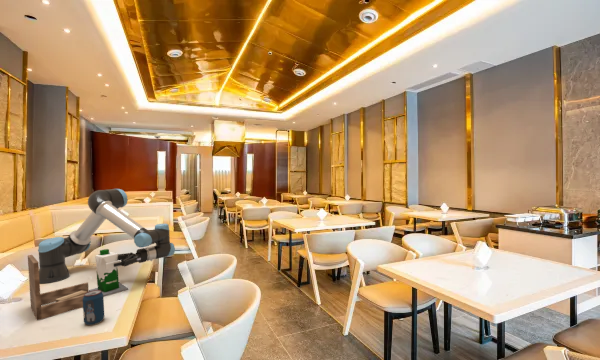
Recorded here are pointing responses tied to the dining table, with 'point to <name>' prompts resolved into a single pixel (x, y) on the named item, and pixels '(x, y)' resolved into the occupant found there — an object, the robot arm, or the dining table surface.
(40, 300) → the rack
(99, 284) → the soya milk
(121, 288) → the mat
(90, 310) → the soda can
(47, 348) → the dining table surface
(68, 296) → the offcut upper
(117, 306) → the dining table surface
